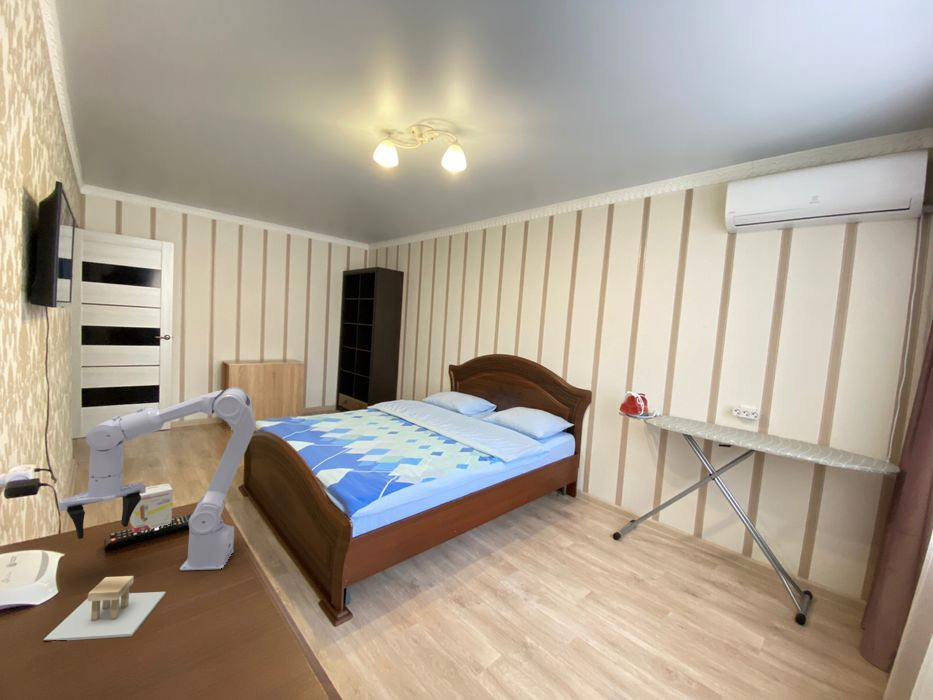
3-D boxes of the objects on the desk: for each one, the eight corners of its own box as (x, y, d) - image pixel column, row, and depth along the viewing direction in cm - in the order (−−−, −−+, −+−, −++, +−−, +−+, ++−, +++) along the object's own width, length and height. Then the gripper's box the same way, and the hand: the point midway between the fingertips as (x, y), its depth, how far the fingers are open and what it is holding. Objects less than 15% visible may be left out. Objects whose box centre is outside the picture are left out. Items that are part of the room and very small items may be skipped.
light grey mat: (165, 593, 86) (165, 591, 86) (131, 636, 75) (131, 633, 75) (90, 597, 83) (91, 595, 83) (43, 642, 72) (43, 639, 72)
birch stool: (104, 604, 81) (105, 577, 81) (132, 603, 82) (133, 575, 82) (86, 623, 76) (88, 593, 76) (116, 621, 77) (118, 591, 77)
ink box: (133, 538, 105) (135, 496, 104) (128, 531, 108) (131, 490, 108) (171, 528, 112) (174, 488, 111) (166, 521, 115) (169, 482, 114)
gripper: (64, 487, 81) (61, 550, 82) (151, 470, 93) (147, 526, 93) (58, 477, 85) (55, 537, 86) (141, 462, 97) (138, 515, 98)
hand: (103, 530), depth 90 cm, fingers open, 7 cm apart
